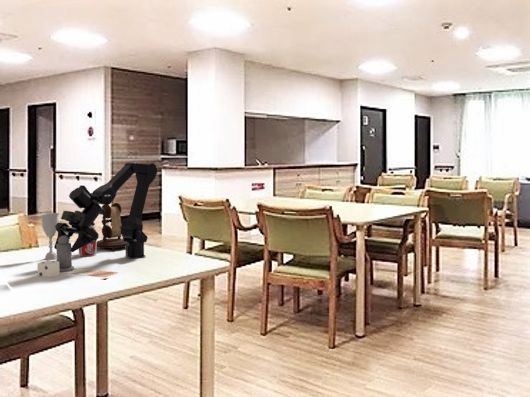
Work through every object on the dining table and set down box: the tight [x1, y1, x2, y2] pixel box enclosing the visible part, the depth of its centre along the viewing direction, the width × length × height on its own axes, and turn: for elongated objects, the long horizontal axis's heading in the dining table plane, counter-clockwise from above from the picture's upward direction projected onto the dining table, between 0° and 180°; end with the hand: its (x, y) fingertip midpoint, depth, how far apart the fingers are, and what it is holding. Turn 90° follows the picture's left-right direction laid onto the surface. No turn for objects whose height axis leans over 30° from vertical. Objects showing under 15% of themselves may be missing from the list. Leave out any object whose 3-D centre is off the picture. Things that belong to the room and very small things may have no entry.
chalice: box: [40, 212, 60, 261], centre depth 225 cm, size 7×7×18 cm
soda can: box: [78, 225, 98, 258], centre depth 231 cm, size 7×7×12 cm
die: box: [36, 260, 61, 278], centre depth 194 cm, size 5×5×5 cm
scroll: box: [96, 202, 127, 252], centre depth 248 cm, size 15×15×20 cm
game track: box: [60, 267, 119, 281], centre depth 199 cm, size 25×10×1 cm, turn 70°
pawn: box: [55, 236, 75, 273], centre depth 201 cm, size 6×6×12 cm
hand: (63, 250), depth 201 cm, fingers open, 9 cm apart
